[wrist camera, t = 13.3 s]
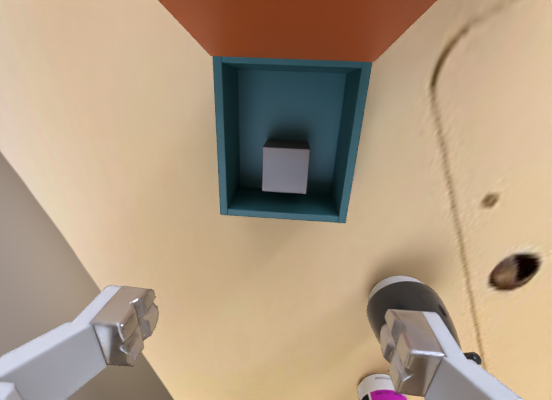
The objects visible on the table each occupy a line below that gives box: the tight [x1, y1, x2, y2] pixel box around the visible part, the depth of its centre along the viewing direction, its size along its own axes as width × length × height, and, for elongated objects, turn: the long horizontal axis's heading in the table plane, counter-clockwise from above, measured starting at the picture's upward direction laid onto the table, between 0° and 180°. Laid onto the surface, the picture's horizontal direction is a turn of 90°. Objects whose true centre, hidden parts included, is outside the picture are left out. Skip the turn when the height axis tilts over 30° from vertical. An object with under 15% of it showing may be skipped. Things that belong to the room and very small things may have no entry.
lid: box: [158, 0, 437, 62], centre depth 13 cm, size 16×14×1 cm
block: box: [262, 139, 310, 194], centre depth 30 cm, size 5×5×5 cm
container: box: [213, 56, 372, 223], centre depth 28 cm, size 16×14×8 cm
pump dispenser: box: [367, 276, 481, 365], centre depth 33 cm, size 10×10×15 cm
